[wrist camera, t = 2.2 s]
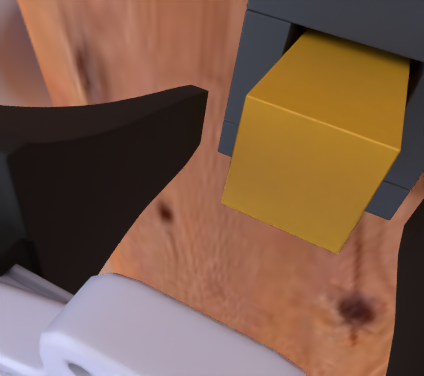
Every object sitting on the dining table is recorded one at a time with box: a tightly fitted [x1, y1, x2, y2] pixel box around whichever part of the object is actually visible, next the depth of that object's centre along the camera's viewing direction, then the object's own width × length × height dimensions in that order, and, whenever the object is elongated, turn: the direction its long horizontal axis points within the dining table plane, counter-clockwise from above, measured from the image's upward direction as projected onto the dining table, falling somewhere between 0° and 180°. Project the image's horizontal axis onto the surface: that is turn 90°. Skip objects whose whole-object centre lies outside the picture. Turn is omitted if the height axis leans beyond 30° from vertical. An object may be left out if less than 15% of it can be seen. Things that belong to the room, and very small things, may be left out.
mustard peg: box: [221, 28, 411, 254], centre depth 13 cm, size 4×4×8 cm
